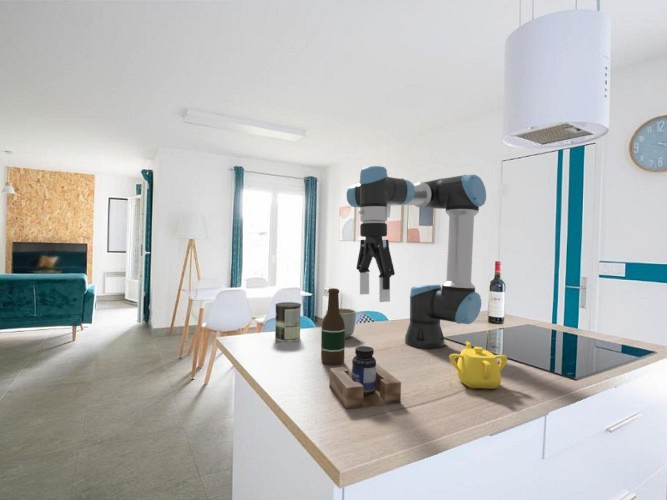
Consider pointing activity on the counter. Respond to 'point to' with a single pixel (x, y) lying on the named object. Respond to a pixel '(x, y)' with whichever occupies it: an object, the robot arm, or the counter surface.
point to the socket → (353, 391)
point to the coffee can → (287, 321)
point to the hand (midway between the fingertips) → (374, 297)
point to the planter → (348, 320)
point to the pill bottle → (364, 368)
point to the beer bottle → (333, 332)
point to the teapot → (478, 367)
